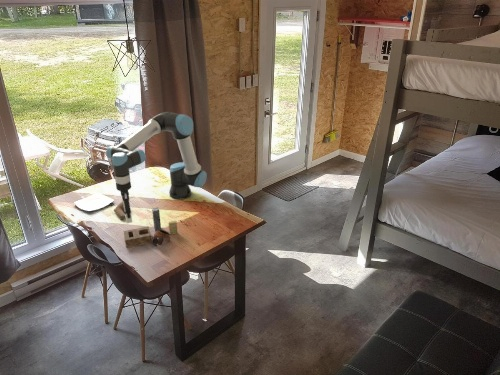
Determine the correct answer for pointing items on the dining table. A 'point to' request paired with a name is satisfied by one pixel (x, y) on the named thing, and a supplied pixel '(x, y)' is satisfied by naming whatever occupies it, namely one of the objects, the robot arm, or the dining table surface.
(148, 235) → the socket block
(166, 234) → the pottery mug
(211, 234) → the dining table surface
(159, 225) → the square steel bit
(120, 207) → the pipe
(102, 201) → the plate
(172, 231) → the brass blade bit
